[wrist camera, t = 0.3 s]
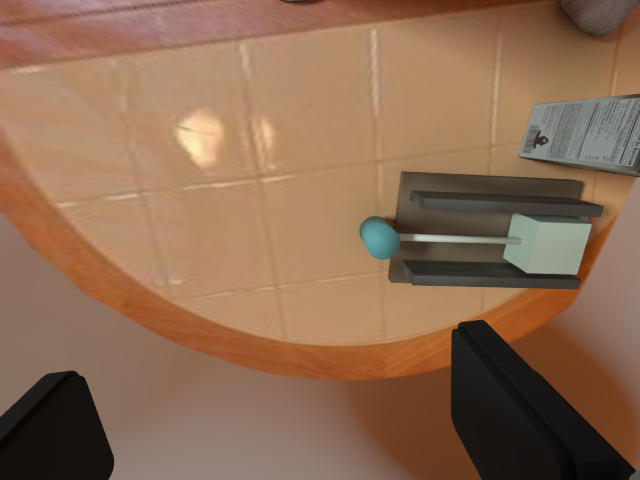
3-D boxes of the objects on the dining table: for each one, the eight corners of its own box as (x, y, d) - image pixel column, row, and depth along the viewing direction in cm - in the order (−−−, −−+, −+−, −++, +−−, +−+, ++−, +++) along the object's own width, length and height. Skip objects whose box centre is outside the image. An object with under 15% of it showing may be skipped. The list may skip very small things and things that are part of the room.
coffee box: (603, 115, 42) (779, 108, 26) (583, 169, 44) (737, 192, 28) (532, 102, 41) (671, 88, 25) (515, 158, 43) (635, 176, 27)
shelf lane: (401, 171, 42) (418, 179, 36) (573, 179, 44) (618, 188, 38) (388, 277, 47) (401, 300, 40) (545, 281, 48) (581, 304, 42)
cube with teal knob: (361, 205, 41) (369, 216, 37) (559, 213, 43) (593, 224, 38) (357, 253, 43) (364, 269, 38) (547, 258, 45) (578, 275, 40)
